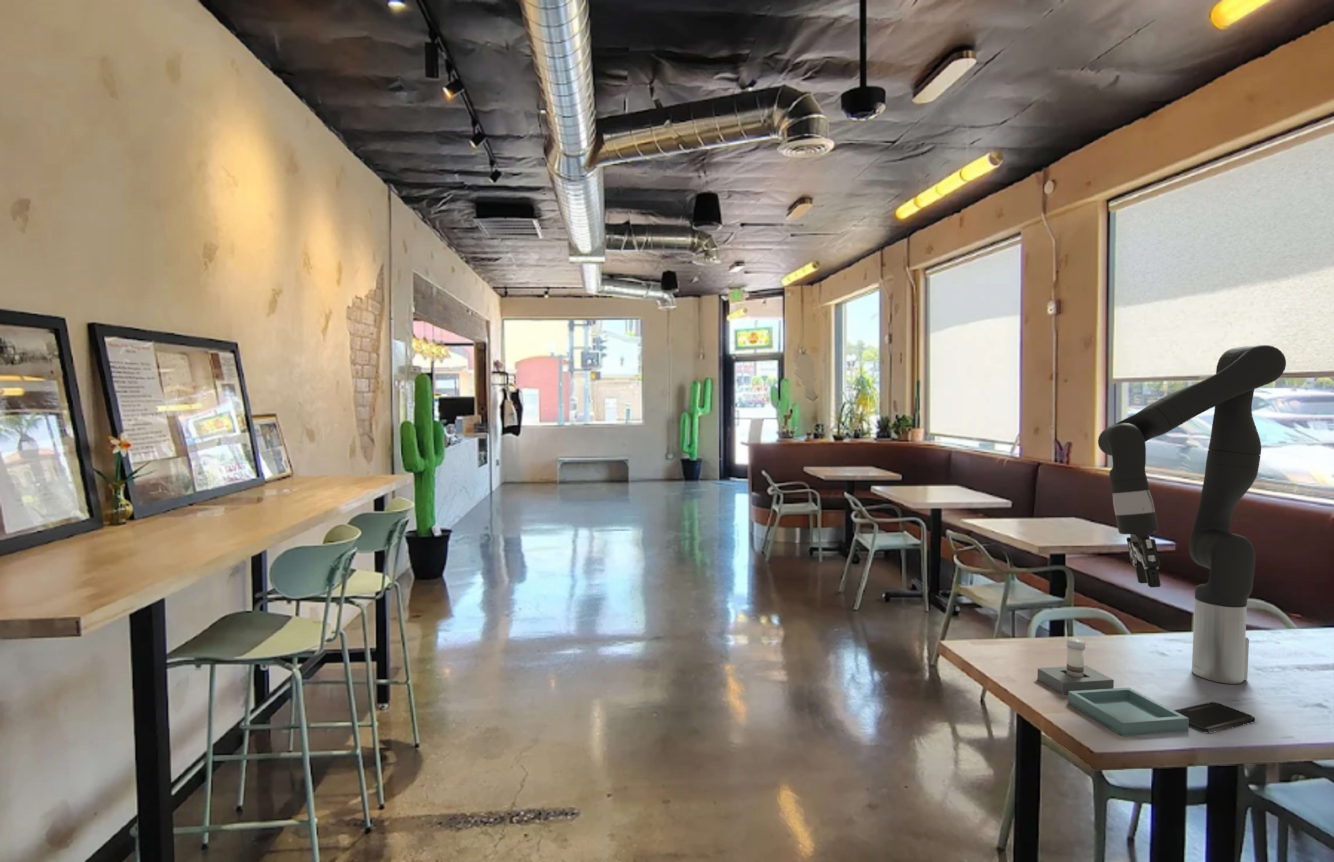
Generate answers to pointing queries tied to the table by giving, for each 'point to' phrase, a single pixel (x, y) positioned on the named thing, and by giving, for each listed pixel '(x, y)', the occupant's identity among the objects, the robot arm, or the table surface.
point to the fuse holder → (1074, 680)
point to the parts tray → (1128, 711)
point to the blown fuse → (1075, 657)
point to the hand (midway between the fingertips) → (1149, 585)
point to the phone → (1214, 717)
